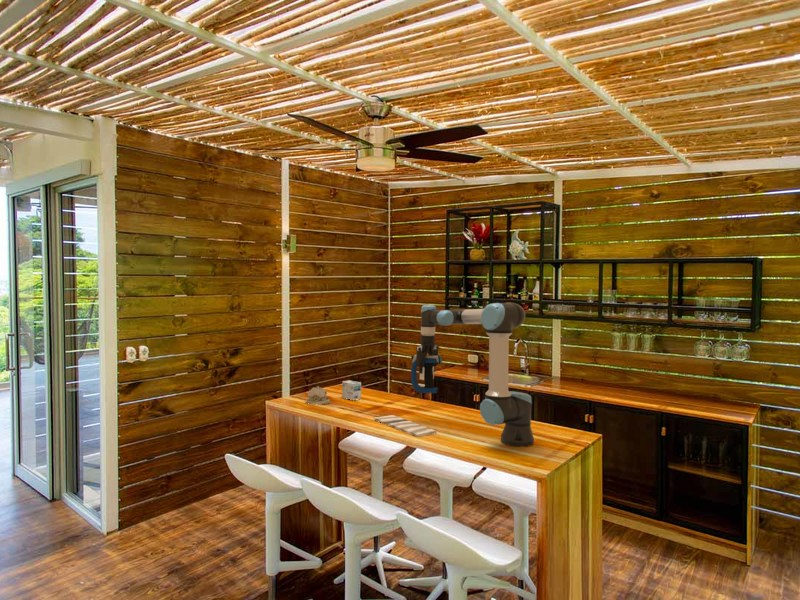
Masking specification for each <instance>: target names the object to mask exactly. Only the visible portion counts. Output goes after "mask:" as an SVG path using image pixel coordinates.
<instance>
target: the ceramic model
mask: <svg viewBox="0 0 800 600" xmlns="http://www.w3.org/2000/svg"><path fill="white" fill-rule="evenodd" d="M307 397H308V399H307V400H306V404H307V403H309V404H308V405H310V404H321V405H320V406H323V405H322V404H327V405H329V404H330V402H331V401H330V398H327V397H328V395H327V390H326V389H325V388H324V387H320V386H318V385H317V386H316V387H312V388H311V389H310V390H309V391H308V393H307ZM328 403H329V404H328Z"/></svg>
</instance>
